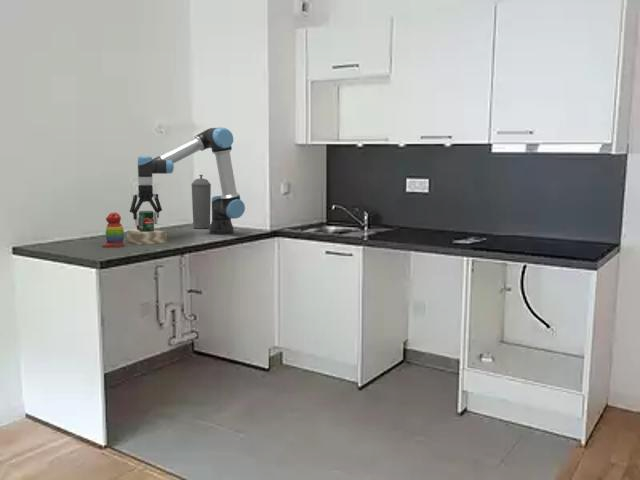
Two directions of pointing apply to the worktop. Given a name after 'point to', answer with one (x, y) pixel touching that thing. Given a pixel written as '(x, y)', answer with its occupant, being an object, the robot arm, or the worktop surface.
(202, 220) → the canister
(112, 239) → the stacking bear
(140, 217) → the canned tomato
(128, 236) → the base block
